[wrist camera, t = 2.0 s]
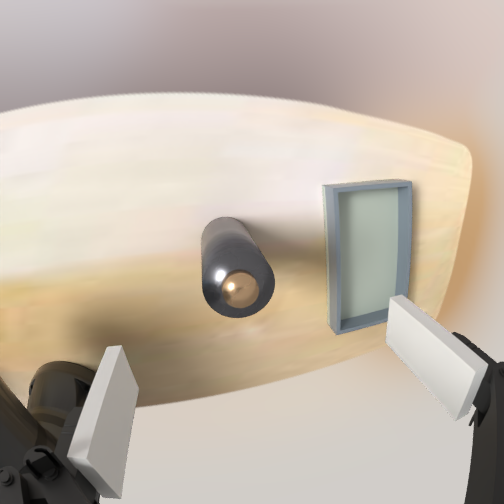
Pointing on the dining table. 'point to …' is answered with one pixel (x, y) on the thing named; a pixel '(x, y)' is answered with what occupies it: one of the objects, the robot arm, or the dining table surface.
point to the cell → (234, 270)
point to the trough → (366, 250)
